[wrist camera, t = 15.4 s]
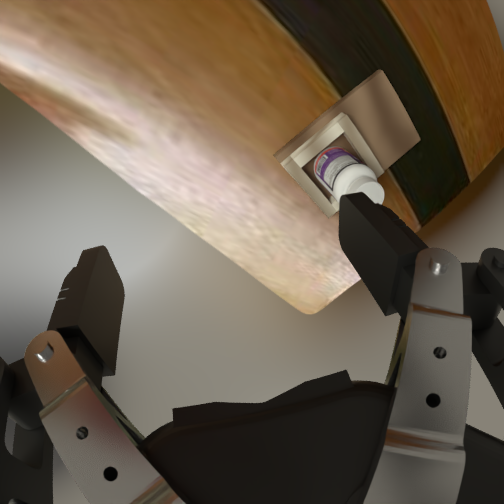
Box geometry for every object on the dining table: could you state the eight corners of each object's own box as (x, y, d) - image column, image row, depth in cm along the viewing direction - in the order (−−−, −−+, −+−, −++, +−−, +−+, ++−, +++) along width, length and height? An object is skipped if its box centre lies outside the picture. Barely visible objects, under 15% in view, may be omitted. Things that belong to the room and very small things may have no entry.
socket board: (378, 69, 33) (389, 71, 31) (416, 137, 40) (426, 143, 38) (273, 155, 38) (278, 162, 36) (325, 214, 45) (332, 223, 43)
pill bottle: (355, 172, 41) (394, 207, 33) (321, 190, 41) (353, 230, 34) (343, 138, 37) (383, 167, 30) (306, 156, 38) (339, 190, 30)
